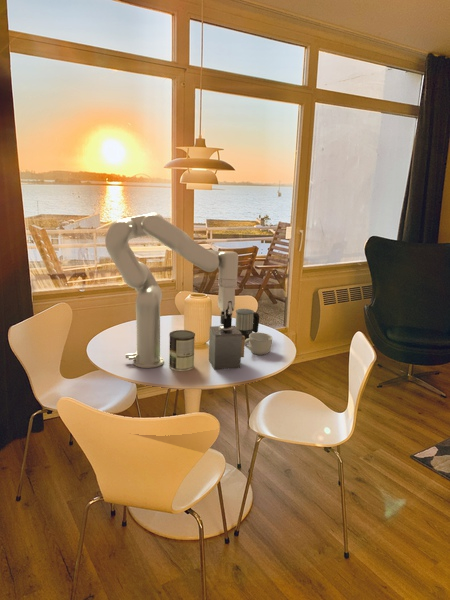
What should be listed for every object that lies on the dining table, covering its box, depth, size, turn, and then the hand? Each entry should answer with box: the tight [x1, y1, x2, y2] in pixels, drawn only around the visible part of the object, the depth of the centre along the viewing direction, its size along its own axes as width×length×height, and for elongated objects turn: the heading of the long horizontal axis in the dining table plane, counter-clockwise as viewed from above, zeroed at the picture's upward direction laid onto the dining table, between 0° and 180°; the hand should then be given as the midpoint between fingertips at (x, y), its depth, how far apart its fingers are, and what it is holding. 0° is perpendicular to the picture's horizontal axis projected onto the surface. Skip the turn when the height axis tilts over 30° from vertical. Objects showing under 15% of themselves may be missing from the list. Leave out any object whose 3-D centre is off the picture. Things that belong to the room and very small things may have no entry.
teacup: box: [244, 331, 274, 356], centre depth 196 cm, size 14×11×8 cm
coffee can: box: [168, 329, 196, 372], centre depth 176 cm, size 10×10×14 cm
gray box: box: [208, 325, 245, 371], centre depth 180 cm, size 14×11×15 cm
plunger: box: [218, 313, 233, 331], centre depth 179 cm, size 8×8×18 cm
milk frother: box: [235, 308, 260, 343], centre depth 216 cm, size 14×16×15 cm
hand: (225, 325), depth 178 cm, fingers closed on plunger, 4 cm apart
